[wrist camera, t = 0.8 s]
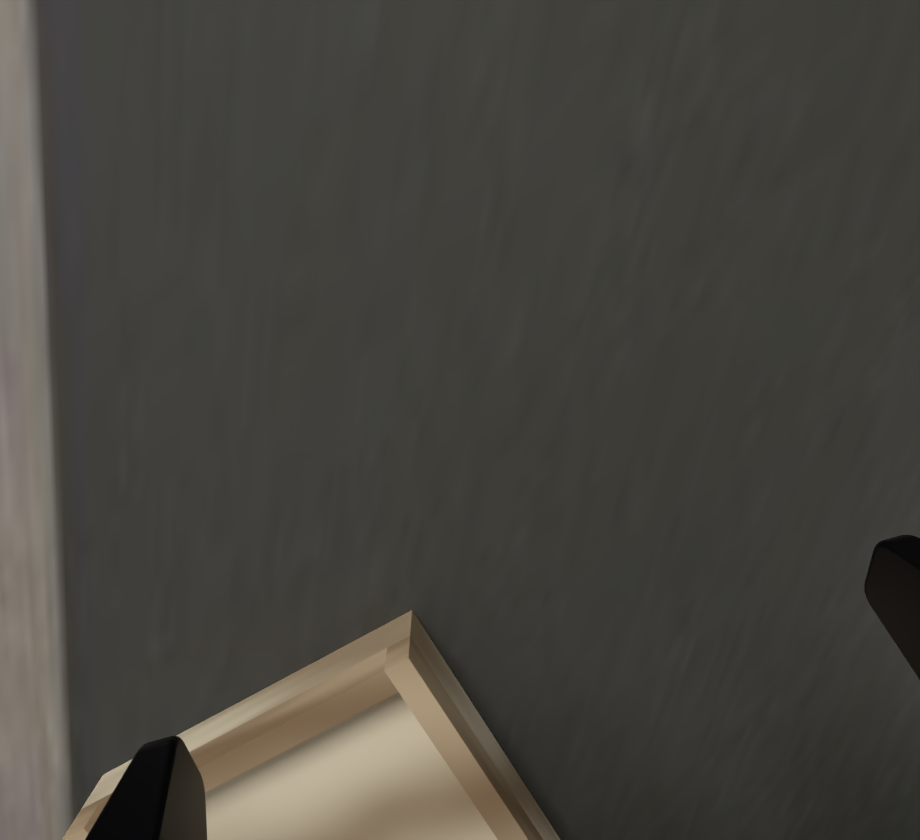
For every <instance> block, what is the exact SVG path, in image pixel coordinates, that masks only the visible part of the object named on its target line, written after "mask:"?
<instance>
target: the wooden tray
mask: <svg viewBox="0 0 920 840" xmlns="http://www.w3.org/2000/svg"><path fill="white" fill-rule="evenodd" d="M177 736H178V737H180V738H181V739H182V740H183V741H184V743H185V745H186V747H187V749H188V751H189V752H190V754H191V756H192V758H193V760H194V762H195V764H196V766H197V768H198V770H199V771H200V773H201V776H202V779H203V783H204V788H205V798H206V821H207V840H560V838H559V837H558V835H557V834H556V832H555V831H554V829H553V827H552V826H551V824H550V823H549V821H548V820H547V818H546V817H545V815H544V814H543V812H542V810H541V809H540V807H539V806H538V804H537V803H536V801H535V800H534V798H533V797H532V795H531V793H530V792H529V790H528V789H527V787H526V786H525V784H524V783H523V781H522V780H521V778H520V776H519V775H518V773H517V772H516V770H515V769H514V767H513V766H512V764H511V763H510V761H509V759H508V758H507V756H506V755H505V753H504V752H503V750H502V749H501V747H500V746H499V744H498V742H497V741H496V739H495V738H494V736H493V735H492V733H491V732H490V730H489V729H488V727H487V725H486V724H485V722H484V721H483V719H482V718H481V716H480V715H479V713H478V712H477V710H476V708H475V707H474V705H473V704H472V702H471V701H470V699H469V698H468V696H467V694H466V693H465V691H464V690H463V688H462V687H461V685H460V684H459V682H458V681H457V679H456V677H455V676H454V674H453V673H452V671H451V670H450V668H449V667H448V665H447V664H446V662H445V660H444V659H443V657H442V656H441V654H440V653H439V651H438V650H437V648H436V647H435V645H434V643H433V642H432V640H431V639H430V637H429V636H428V634H427V633H426V631H425V630H424V628H423V626H422V625H421V623H420V622H419V620H418V619H417V617H416V616H415V614H414V613H413V611H410V612H408V613H406V614H404V615H402V616H400V617H398V618H397V619H395V620H393V621H391V622H389V623H387V624H385V625H383V626H381V627H380V628H378V629H376V630H374V631H372V632H370V633H368V634H366V635H365V636H363V637H361V638H359V639H357V640H355V641H353V642H351V643H350V644H348V645H346V646H344V647H342V648H340V649H338V650H336V651H335V652H333V653H331V654H329V655H327V656H325V657H323V658H321V659H320V660H318V661H316V662H314V663H312V664H310V665H308V666H306V667H305V668H303V669H301V670H299V671H297V672H295V673H293V674H291V675H289V676H288V677H286V678H284V679H282V680H280V681H278V682H276V683H274V684H273V685H271V686H269V687H267V688H265V689H263V690H261V691H259V692H258V693H256V694H254V695H252V696H250V697H248V698H246V699H244V700H243V701H241V702H239V703H237V704H235V705H233V706H231V707H229V708H228V709H226V710H224V711H222V712H220V713H218V714H216V715H214V716H213V717H211V718H209V719H207V720H205V721H203V722H201V723H199V724H197V725H196V726H194V727H192V728H190V729H188V730H186V731H184V732H182V733H181V734H179V735H177ZM131 761H132V760H130V761H128V762H126V763H124V764H122V765H121V766H119V767H117V768H115V769H113V770H111V771H109V772H107V773H105V774H104V775H103V776H102V777H101V779H100V781H99V782H98V784H97V785H96V787H95V788H94V790H93V792H92V793H91V795H90V796H89V798H88V799H87V801H86V803H85V804H84V806H83V807H82V809H81V811H80V812H79V814H78V815H77V817H76V818H75V820H74V822H73V823H72V825H71V826H70V828H69V829H68V831H67V833H66V834H65V836H64V837H63V839H62V840H85V839H86V837H87V835H88V834H89V832H90V830H91V829H92V827H93V825H94V823H95V822H96V820H97V818H98V817H99V815H100V813H101V812H102V810H103V808H104V806H105V805H106V803H107V801H108V800H109V798H110V796H111V795H112V793H113V791H114V789H115V788H116V786H117V784H118V783H119V781H120V779H121V778H122V776H123V774H124V772H125V771H126V769H127V767H128V766H129V764H130V762H131Z"/></svg>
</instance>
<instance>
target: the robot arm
mask: <svg viewBox="0 0 920 840" xmlns="http://www.w3.org/2000/svg"><path fill="white" fill-rule="evenodd" d="M864 587H865V594H866V597H867V599H868V602H869V603H870V605H871V607H872V608H873V610H874V611H875V613H876V614H877V616H878V617H879V619H880V620H881V622H882V623H883V625H884V626H885V628H886V629H887V631H888V632H889V634H890V635H891V637H892V638H893V640H894V642H895V643H896V645H897V646H898V648H899V649H900V651H901V652H902V654H903V655H904V657H905V658H906V660H907V661H908V663H909V664H910V666H911V667H912V669H913V670H914V672H915V673H916V675H917V676H918V678H919V679H920V538H918V537H915V536H912V535H901V536H897V537H893V538H890V539H886V540H883V541H880V542H879V543H878V544H877V545H876V546H875V548H874V551H873V554H872V558H871V562H870V565H869V569H868V573H867V577H866V580H865V585H864ZM85 840H207V821H206V798H205V788H204V783H203V779H202V776H201V773H200V771H199V770H198V768H197V766H196V764H195V762H194V760H193V758H192V756H191V754H190V752H189V751H188V749H187V747H186V745H185V743H184V741H183V740H182V739H181V738H180V737H178V736H170V737H167V738H163V739H160V740H156V741H152V742H149V743H146V744H144V745H143V746H142V747H140V748H139V750H138V751H137V752H136V754H135V755H134V757H133V759H132V761H131V762H130V764H129V766H128V767H127V769H126V771H125V772H124V774H123V776H122V778H121V779H120V781H119V783H118V784H117V786H116V788H115V789H114V791H113V793H112V795H111V796H110V798H109V800H108V801H107V803H106V805H105V806H104V808H103V810H102V812H101V813H100V815H99V817H98V818H97V820H96V822H95V823H94V825H93V827H92V829H91V830H90V832H89V834H88V835H87V837H86V839H85Z"/></svg>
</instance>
